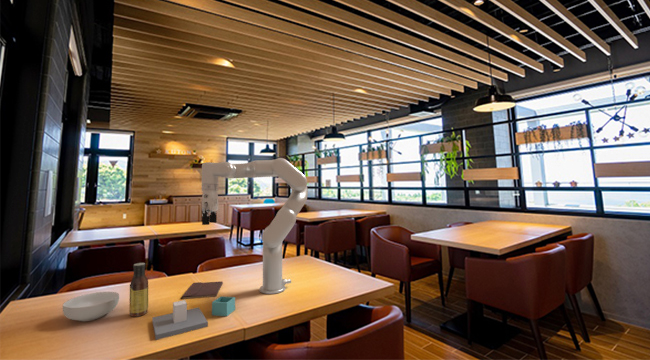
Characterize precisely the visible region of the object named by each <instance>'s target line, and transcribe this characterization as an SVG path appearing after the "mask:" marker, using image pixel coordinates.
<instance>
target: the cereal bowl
mask: <svg viewBox="0 0 650 360" xmlns="http://www.w3.org/2000/svg"><path fill="white" fill-rule="evenodd" d="M119 300H120V294H119V293H118V292H116V291H98V292H96V291H95V292H91V293H85V294H81V295H78V296H75V297H73V298H72V297H71V298H70V299H67V300H66V301H65V302H64V303H62V312H63V315H64V316H65V317H66V318H67V319H69V320H73V321H79V322H91V321H94V320H98V319H100V318H102V317H103V316H105V315H106V314H109V313H111V311H113V310H114V309H115V308H116V307H117V305H118V304H119Z"/></svg>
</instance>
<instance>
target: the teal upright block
mask: <svg viewBox="0 0 650 360" xmlns="http://www.w3.org/2000/svg"><path fill="white" fill-rule="evenodd" d="M235 310H236V296H235V297H234V296H221V295H220V296H219V297H218V298H216V299H214V300H213V301H212V303H211V315H212V316H218V317H228V316H229V315H230V314H232V313H233V312H234V311H235Z"/></svg>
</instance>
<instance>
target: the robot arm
mask: <svg viewBox="0 0 650 360" xmlns="http://www.w3.org/2000/svg"><path fill="white" fill-rule="evenodd" d="M220 177H221V178H225V179H246V178H247V179H248V178H251V179H253V178H254V179H255V178H274V177H278V178H280V179H281V180H282V181H283V182H285V183H286V184H287V185H288V186H289V187H290V189H291V193H290V195H289V197H288V198H287V200H286V201H285V203H284V204H283V205H282V206H281V208H280V209H279V210H278V211H277V213H276V215H275V217H274V218H273V220H272V221H271V222H270V224H269V225H267V226H266V227H265V229H263V233H262V237H261V238H262V285H261V286H260V287H259V289H258V290H259V292H260V293H261V294H266V295H273V294H274V295H275V294H280V293H282V292H284V291H285V290H286V285H287V284H291V283H292V279H291V278H289V279H286V278H284V279H283V241H284V240H285V239H286V237H288V234H289V233H290V231H292V229H293V227H294V226H295V224H296V221H297V216H298V214H299V213H300V212H301V210H302V208H303V207H304V205H305V204H306V202H307V199H308V196H309V194H308V193H309V192H308V191H309V190H308V186H307V185H308V179H307V177H306V175H305V174H303V173H302V172H301V171H300V170H299V169H297V168H296V167H295V166H294V165H293V164H292V163H290V162H289V161H288V160H287V159H285V158H283V157H278V158H276V159H265V160H264V159H263V160H258V159H257V160H253V161H249V162H246V163H231V162H230V161H229V162H228V161H221V162H210V161H209V162H208V161H206V162H203V163H202V165H201V192H202V197H201V225H202V226H208V225H210V224H211V223H212V224H214V223H217V218H218V217H217V213H218V211H219V195H218V192H219V178H220Z"/></svg>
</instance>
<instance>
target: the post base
mask: <svg viewBox="0 0 650 360" xmlns="http://www.w3.org/2000/svg"><path fill="white" fill-rule="evenodd" d="M187 308H188V303H187V301H186V299H182V300H179V301H174V302H173V303H172V312H171V313H167V314H162V315H159V316H153V317H152V321H151V322H152V328H153V333H154V338H155V341H158V340H162V339H165V338H169V337H172V336H177V335H180V334H185V333H188V331H189V332H192V331H195V330H200V329H204V328H207V327H209V326H208V325H209V322H208V320H207V318H206V316H205V315H204V313H203V312H202V310H201V309H200V306H199V307H194V308H189V309H187ZM191 330H192V331H191ZM184 332H185V333H184Z"/></svg>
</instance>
